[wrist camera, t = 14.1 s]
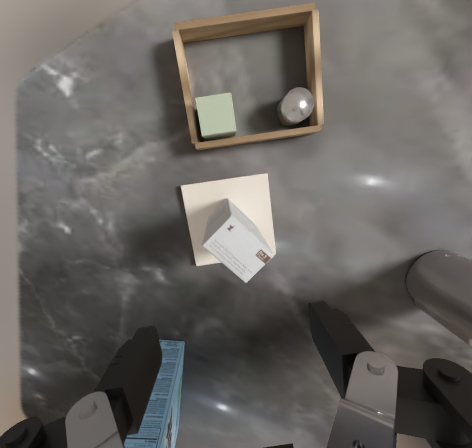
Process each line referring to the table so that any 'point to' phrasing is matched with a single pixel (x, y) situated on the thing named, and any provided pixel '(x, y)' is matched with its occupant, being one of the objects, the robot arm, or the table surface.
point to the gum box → (162, 402)
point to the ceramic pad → (214, 194)
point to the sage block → (216, 116)
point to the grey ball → (295, 106)
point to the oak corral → (247, 25)
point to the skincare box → (236, 241)
